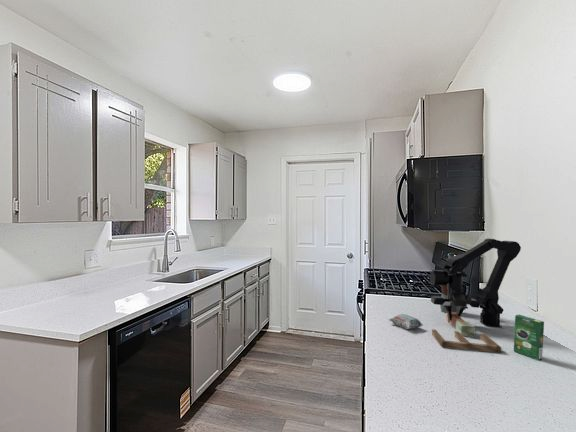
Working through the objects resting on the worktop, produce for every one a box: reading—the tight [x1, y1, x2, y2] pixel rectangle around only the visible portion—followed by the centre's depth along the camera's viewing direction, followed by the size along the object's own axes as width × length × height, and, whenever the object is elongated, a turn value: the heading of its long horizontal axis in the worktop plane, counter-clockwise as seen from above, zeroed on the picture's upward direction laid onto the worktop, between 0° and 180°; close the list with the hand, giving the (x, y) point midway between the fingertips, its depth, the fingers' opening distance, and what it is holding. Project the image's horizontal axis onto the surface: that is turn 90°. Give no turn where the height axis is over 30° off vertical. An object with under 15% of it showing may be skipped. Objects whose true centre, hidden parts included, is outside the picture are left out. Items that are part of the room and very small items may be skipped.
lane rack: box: [431, 329, 502, 354], centre depth 118 cm, size 20×13×2 cm, turn 80°
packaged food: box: [387, 313, 424, 330], centre depth 134 cm, size 9×12×5 cm
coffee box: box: [513, 314, 545, 361], centre depth 108 cm, size 8×3×13 cm, turn 25°
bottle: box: [439, 252, 457, 314], centre depth 158 cm, size 9×9×30 cm
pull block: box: [446, 312, 476, 338], centre depth 134 cm, size 5×20×4 cm, turn 170°
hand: (454, 320), depth 141 cm, fingers closed on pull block, 2 cm apart
